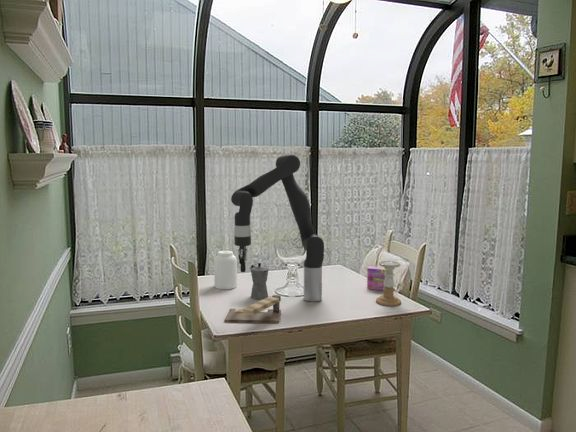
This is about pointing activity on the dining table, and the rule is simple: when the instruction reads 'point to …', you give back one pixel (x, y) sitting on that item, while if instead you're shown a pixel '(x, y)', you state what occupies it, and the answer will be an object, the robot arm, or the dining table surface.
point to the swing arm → (262, 305)
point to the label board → (255, 315)
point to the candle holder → (388, 285)
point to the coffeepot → (259, 282)
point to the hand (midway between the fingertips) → (243, 271)
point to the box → (375, 277)
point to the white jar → (225, 270)
